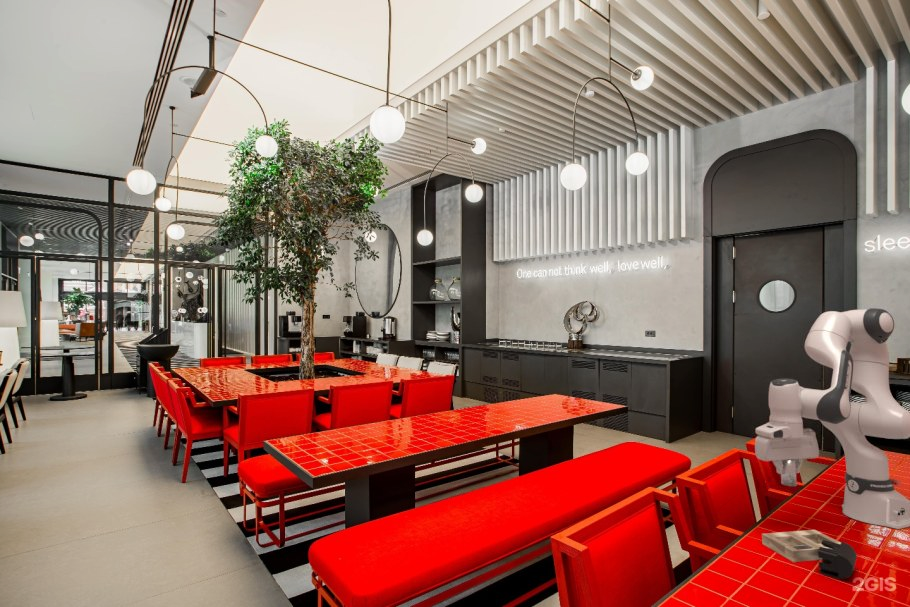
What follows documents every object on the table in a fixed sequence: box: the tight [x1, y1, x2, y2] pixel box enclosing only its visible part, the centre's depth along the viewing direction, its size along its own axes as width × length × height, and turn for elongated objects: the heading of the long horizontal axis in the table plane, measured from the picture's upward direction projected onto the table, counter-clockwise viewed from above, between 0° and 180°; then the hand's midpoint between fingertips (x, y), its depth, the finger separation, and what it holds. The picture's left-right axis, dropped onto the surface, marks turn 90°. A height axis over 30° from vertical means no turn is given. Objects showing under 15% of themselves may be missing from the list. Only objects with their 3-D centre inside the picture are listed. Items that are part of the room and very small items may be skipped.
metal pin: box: [780, 459, 798, 487], centre depth 149 cm, size 4×4×8 cm
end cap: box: [818, 540, 858, 580], centre depth 125 cm, size 10×7×7 cm
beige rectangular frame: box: [761, 529, 841, 563], centre depth 137 cm, size 18×11×3 cm, turn 98°
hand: (788, 472), depth 149 cm, fingers closed on metal pin, 4 cm apart
